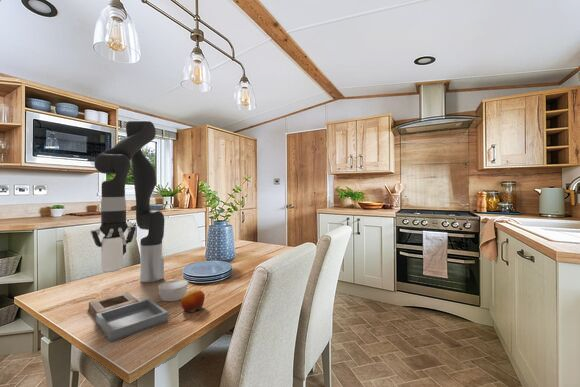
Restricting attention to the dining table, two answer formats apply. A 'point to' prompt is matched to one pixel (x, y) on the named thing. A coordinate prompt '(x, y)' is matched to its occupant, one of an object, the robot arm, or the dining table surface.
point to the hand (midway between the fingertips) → (114, 255)
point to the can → (112, 254)
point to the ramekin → (172, 290)
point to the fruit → (193, 300)
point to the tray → (130, 319)
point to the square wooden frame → (111, 302)
